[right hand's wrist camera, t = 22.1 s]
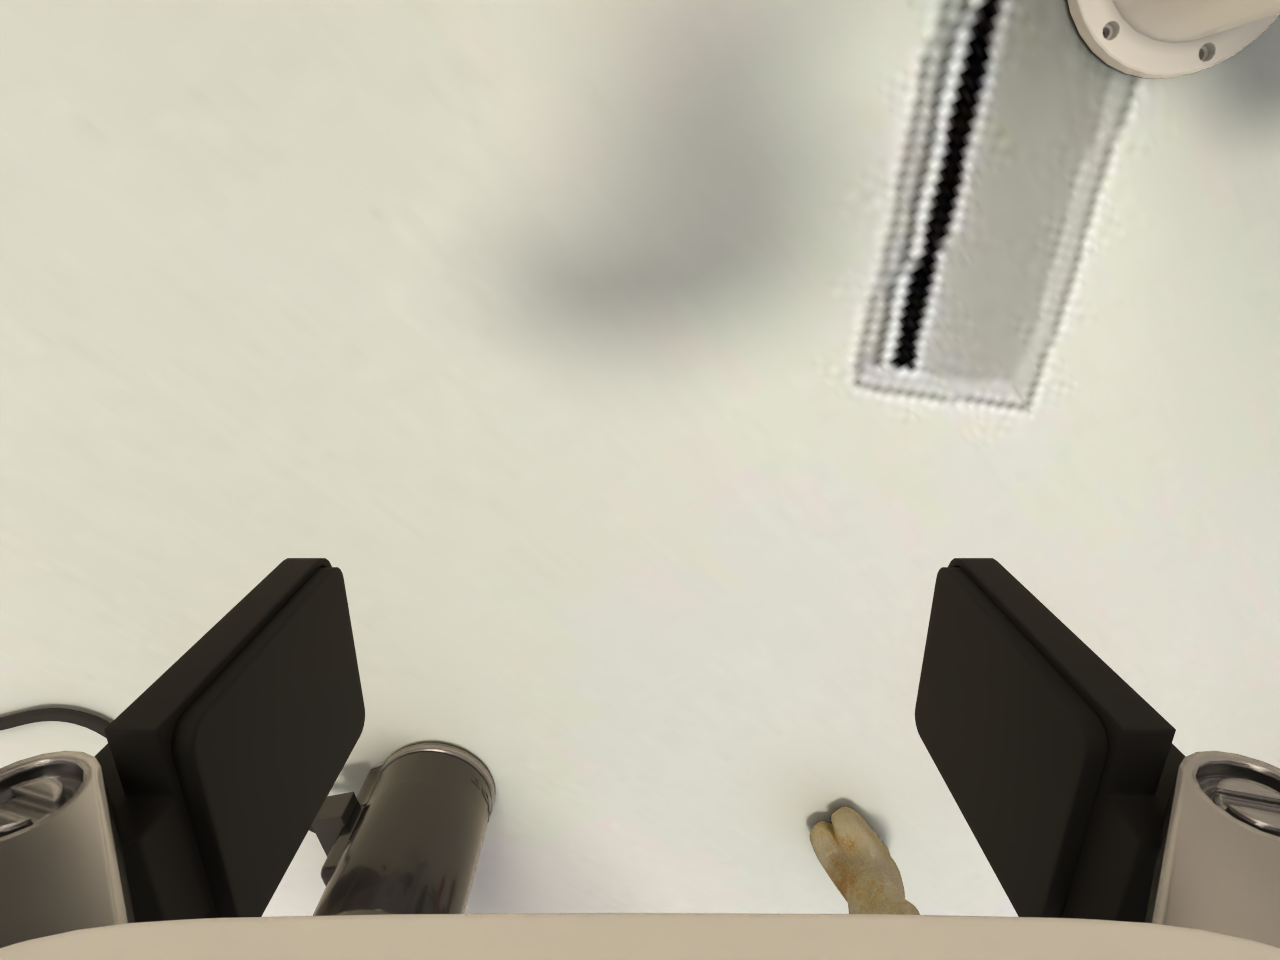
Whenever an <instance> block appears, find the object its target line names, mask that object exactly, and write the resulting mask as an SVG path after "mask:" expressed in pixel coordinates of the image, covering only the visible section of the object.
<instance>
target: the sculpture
mask: <svg viewBox="0 0 1280 960" xmlns="http://www.w3.org/2000/svg"><path fill="white" fill-rule="evenodd" d="M831 822H832V824H831V823H829V822H826V821H819V822H818V823H816V824H815V825H814V827H813V828H812V829H811V832H810V841H811V844H812V847H813V849H814V851H815V854H816V856H817V858H818V859H819V861H820V863H821V864H822V866H823V868H824V869H825V871H826V872H827V874H828V875H829V877H830V878H831V880H832V881H833V883H834V884H835V886H836V887H837V888H838V890H839V891H840V893H841V894H842V895H843V897H844V898H845V900H846V901H847V902H848V907H849V914H891V915H920V914H919V911H918V910H917V908H916V907H915V906H914V905H913V904H911V903H910V902H908V901H907V900H905V893H904V887H903V883H902V878H901V875H900V871H899V869H898V867H897V865H896V863H895V862H894V860H893V859H892V858H891V856H890V853H889V850H888V848H887V846H886V845H885V844H884V842H883V841H881V840H880V839H879V837H878V835H877V834H876V833H875V832H874V831H873V829H872V828H871V827H870V826H869V825H868V824H867V823H866V821H865V820H864V819H863V818H862V817H861V816H860V815H859V814H858V813H857V812H856V811H854V810H853V809H851V808H849V807H842V808H839V809H838V810H836V811H835V812H834V813H833V814H832V816H831Z"/></svg>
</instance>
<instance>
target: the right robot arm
mask: <svg viewBox="0 0 1280 960" xmlns="http://www.w3.org/2000/svg"><path fill="white" fill-rule="evenodd" d="M1068 4H1069V9H1070V13H1071V16H1072V18H1073V20H1074V23H1075V25H1076V27H1077V29H1078V32H1079V34H1080V35H1081V37H1082V38H1083V40H1084V41H1085V42H1086V44H1087V45H1088V46H1089V48H1090V49H1091V50H1092V52H1093V53H1095V54H1096V55H1097V56H1098V57H1099V58H1100V59H1102V60H1103V61H1104V62H1105V63H1106V64H1108V65H1109V66H1111V67H1113V68H1115V69H1117V70H1119V71H1121V72H1123V73H1126V74H1129V75H1134V76H1138V77H1143V78H1171V77H1176V76H1181V75H1185V74H1190V73H1193V72H1197V71H1200V70H1204V69H1207V68H1209V67H1212V66H1214V65H1216V64H1218V63H1220V62H1222V61H1224V60H1226V59H1227V58H1229V57H1231V56H1233V55H1235V54H1236V53H1238V52H1239V51H1240V50H1242V49H1243V48H1245V47H1246V46H1247V45H1249V44H1250V43H1251V42H1253V41H1254V40H1255V39H1257V38H1258V37H1259V36H1260V35H1261V34H1262V33H1263V32H1264V31H1265V30H1266V29H1267V28H1268V27H1269V26H1270V25H1271V24H1272V23H1273V22H1274V21H1275V20H1276V19H1277V17H1278V16H1279V15H1280V0H1068ZM1103 31H1104V33H1105V36H1103ZM364 721H365V708H364V701H363V695H362V689H361V683H360V677H359V671H358V664H357V658H356V652H355V646H354V640H353V634H352V627H351V621H350V615H349V609H348V603H347V597H346V590H345V584H344V578H343V574H342V572H341V570H340V569H339V568H338V567H332V566H331V564H330V562H329V561H328V560H327V559H326V558H287V559H285V560H284V561H283V562H281V563H280V564H279V565H278V566H277V567H276V568H275V569H274V570H273V571H272V572H271V573H270V574H269V575H268V576H267V577H266V578H265V579H263V580H262V581H261V582H260V583H259V584H258V585H257V586H256V587H255V588H254V589H253V590H252V591H251V592H250V593H249V594H248V595H246V596H245V597H244V598H243V599H242V600H241V601H240V602H239V603H238V604H237V605H236V606H235V607H234V608H233V609H232V610H231V611H230V612H228V613H227V614H226V615H225V616H224V617H223V618H222V619H221V620H220V621H219V622H218V623H217V624H216V625H215V626H214V627H213V628H211V629H210V630H209V631H208V632H207V633H206V634H205V635H204V636H203V637H202V638H201V639H200V640H199V641H198V642H197V643H196V644H195V645H193V646H192V647H191V648H190V649H189V650H188V651H187V652H186V653H185V654H184V655H183V656H182V657H181V658H180V659H179V660H178V661H177V662H175V663H174V664H173V665H172V666H171V667H170V668H169V669H168V670H167V671H166V672H165V673H164V674H163V675H162V676H161V677H160V678H158V679H157V680H156V681H155V682H154V683H153V684H152V685H151V686H150V687H149V688H148V689H147V690H146V691H145V692H144V693H143V694H142V695H140V696H139V697H138V698H137V699H136V700H135V701H134V702H133V703H132V704H131V705H130V706H129V707H128V708H127V709H126V710H125V711H123V712H122V713H121V714H120V715H119V716H118V717H117V718H116V719H115V720H114V721H113V722H112V723H111V724H110V725H109V726H108V727H107V728H105V729H104V731H105V734H106V737H107V740H108V744H107V745H106V746H105V747H104V748H103V749H102V750H101V751H100V752H99V753H98V754H97V755H96V756H95V757H93V756H91V755H89V754H86V753H84V752H74V751H61V752H54V753H47V754H41V755H38V756H34V757H31V758H27V759H24V760H20V761H17V762H15V763H12V764H10V765H8V766H5V767H3V768H1V769H0V960H1280V769H1279V768H1277V767H1275V766H1272V765H1270V764H1268V763H1265V762H1263V761H1260V760H1256V759H1253V758H1249V757H1246V756H1242V755H1239V754H1233V753H1226V752H1219V751H1206V752H1196V753H1194V754H1191V755H1189V756H1187V757H1185V756H1184V755H1183V754H1182V753H1181V752H1180V751H1179V750H1178V749H1177V748H1176V747H1175V746H1174V745H1173V744H1172V740H1173V737H1174V734H1175V731H1176V729H1175V728H1173V727H1172V726H1171V725H1170V724H1169V723H1168V722H1167V721H1166V720H1165V719H1164V718H1163V717H1162V716H1161V715H1160V714H1159V713H1158V712H1157V711H1155V710H1154V709H1153V708H1152V707H1151V706H1150V705H1149V704H1148V703H1147V702H1146V701H1145V700H1144V699H1143V698H1142V697H1141V696H1140V695H1138V694H1137V693H1136V692H1135V691H1134V690H1133V689H1132V688H1131V687H1130V686H1129V685H1128V684H1127V683H1126V682H1125V681H1124V680H1123V679H1122V678H1120V677H1119V676H1118V675H1117V674H1116V673H1115V672H1114V671H1113V670H1112V669H1111V668H1110V667H1109V666H1108V665H1107V664H1106V663H1105V662H1103V661H1102V660H1101V659H1100V658H1099V657H1098V656H1097V655H1096V654H1095V653H1094V652H1093V651H1092V650H1091V649H1090V648H1089V647H1088V646H1087V645H1085V644H1084V643H1083V642H1082V641H1081V640H1080V639H1079V638H1078V637H1077V636H1076V635H1075V634H1074V633H1073V632H1072V631H1071V630H1070V629H1069V628H1067V627H1066V626H1065V625H1064V624H1063V623H1062V622H1061V621H1060V620H1059V619H1058V618H1057V617H1056V616H1055V615H1054V614H1053V613H1052V612H1050V611H1049V610H1048V609H1047V608H1046V607H1045V606H1044V605H1043V604H1042V603H1041V602H1040V601H1039V600H1038V599H1037V598H1036V597H1035V596H1034V595H1032V594H1031V593H1030V592H1029V591H1028V590H1027V589H1026V588H1025V587H1024V586H1023V585H1022V584H1021V583H1020V582H1019V581H1018V580H1017V579H1015V578H1014V577H1013V576H1012V575H1011V574H1010V573H1009V572H1008V571H1007V570H1006V569H1005V568H1004V567H1003V566H1002V565H1001V564H1000V563H999V562H997V561H996V560H995V559H993V558H954V559H953V560H952V561H951V562H950V564H949V566H948V567H942V568H941V569H940V570H939V572H938V574H937V578H936V584H935V590H934V596H933V603H932V609H931V615H930V621H929V627H928V634H927V640H926V646H925V652H924V658H923V664H922V671H921V677H920V683H919V689H918V695H917V701H916V708H915V721H916V726H917V730H918V733H919V735H920V737H921V739H922V741H923V743H924V744H925V746H926V748H927V750H928V752H929V753H930V755H931V757H932V759H933V761H934V763H935V764H936V766H937V768H938V770H939V772H940V774H941V775H942V777H943V779H944V781H945V783H946V785H947V786H948V788H949V790H950V792H951V794H952V796H953V797H954V799H955V801H956V803H957V805H958V806H959V808H960V810H961V812H962V814H963V816H964V817H965V819H966V821H967V823H968V825H969V827H970V828H971V830H972V832H973V834H974V836H975V838H976V839H977V841H978V843H979V845H980V847H981V849H982V850H983V852H984V854H985V856H986V858H987V859H988V861H989V863H990V865H991V867H992V869H993V870H994V872H995V874H996V876H997V878H998V880H999V881H1000V883H1001V885H1002V887H1003V889H1004V891H1005V892H1006V894H1007V896H1008V898H1009V900H1010V902H1011V903H1012V905H1013V907H1014V909H1015V911H1016V912H1017V914H1018V916H1019V917H990V916H940V915H891V914H711V913H568V914H389V915H339V916H290V917H261V916H262V914H263V912H264V911H265V909H266V907H267V905H268V903H269V902H270V900H271V898H272V896H273V894H274V892H275V891H276V889H277V887H278V885H279V883H280V881H281V880H282V878H283V876H284V874H285V872H286V870H287V869H288V867H289V865H290V863H291V861H292V859H293V858H294V856H295V854H296V852H297V850H298V849H299V847H300V845H301V843H302V841H303V839H304V838H305V836H306V834H307V832H308V830H309V828H310V827H311V825H312V823H313V821H314V819H315V817H316V816H317V814H318V812H319V810H320V808H321V806H322V805H323V803H324V801H325V799H326V797H327V796H328V794H329V792H330V790H331V788H332V786H333V785H334V783H335V781H336V779H337V777H338V775H339V774H340V772H341V770H342V768H343V766H344V764H345V763H346V761H347V759H348V757H349V755H350V753H351V752H352V750H353V748H354V746H355V744H356V743H357V741H358V739H359V737H360V735H361V733H362V730H363V726H364Z"/></svg>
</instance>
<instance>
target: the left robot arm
mask: <svg viewBox="0 0 1280 960" xmlns="http://www.w3.org/2000/svg"><path fill="white" fill-rule="evenodd" d="M41 721H61V722H69V723H74V724H77V725H80V726H83V727H86V728H89V729H91V730H93V731H95V732H97V733H99V734H100V735H102V736H104V737H105V738H107V737H106V734H105V731H104V729H105V728H107V727H108V726H109V725H110V723H109V722H107V721H105V720H103V719H100V718H98V717H96V716H93V715H90V714H87V713H84V712H80V711H75V710H70V709H62V708H45V709H36V710H30V711H26V712H22V713H18V714H14V715H10V716H6V717H2V718H0V730H4V729H9V728H13V727H16V726H20V725H24V724H29V723H34V722H41ZM494 800H495V787H494V783H493V780H492V777H491V775H490V773H489V772H488V770H487V769H486V767H485V766H484V765H483V764H482V763H481V762H480V761H479V760H478V759H477V758H475V757H474V756H473V755H471V754H470V753H468V752H466V751H464V750H462V749H460V748H457V747H454V746H451V745H447V744H442V743H419V744H414V745H410V746H407V747H405V748H403V749H401V750H399V751H397V752H396V753H394V754H393V755H392V756H390V757H389V758H388V759H387V760H386V762H385V763H384V764H383V766H382V767H379V768H375V769H371V770H370V772H369V774H368V776H367V778H366V780H365V782H364V784H363V786H362V788H361V790H360V792H359V794H358V796H357V798H356V796H355V794H354V792H350V793H344V794H339V795H333V796H328V797H326V799H325V801H324V803H323V805H322V806H321V808H320V810H319V812H318V814H317V816H316V817H315V819H314V821H313V823H312V825H311V827H310V828H309V830H310V831H312V832H314V833H316V835H317V837H318V839H319V841H320V843H321V845H322V847H323V849H324V851H325V853H326V855H327V859H326V861H325V863H324V865H323V867H322V870H321V878H322V880H323V882H324V884H325V886H326V889H325V891H324V893H323V895H322V897H321V899H320V901H319V903H318V906H317V908H316V910H315V912H314V914H313V916H339V915H389V914H464V912H465V909H466V905H467V901H468V897H469V893H470V889H471V885H472V881H473V877H474V873H475V869H476V865H477V862H478V858H479V854H480V850H481V846H482V842H483V838H484V834H485V830H486V826H487V823H488V821H489V817H490V814H491V811H492V808H493V804H494Z"/></svg>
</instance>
